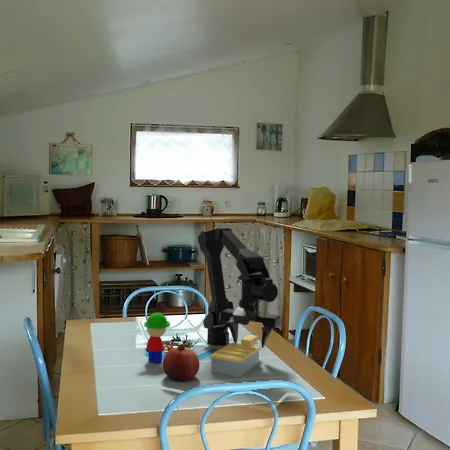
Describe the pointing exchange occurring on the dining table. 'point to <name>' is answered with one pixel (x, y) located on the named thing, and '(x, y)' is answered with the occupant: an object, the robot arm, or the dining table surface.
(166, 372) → the fruit
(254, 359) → the tub
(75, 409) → the dining table surface
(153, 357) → the toy
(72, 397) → the dining table surface
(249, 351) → the lid
